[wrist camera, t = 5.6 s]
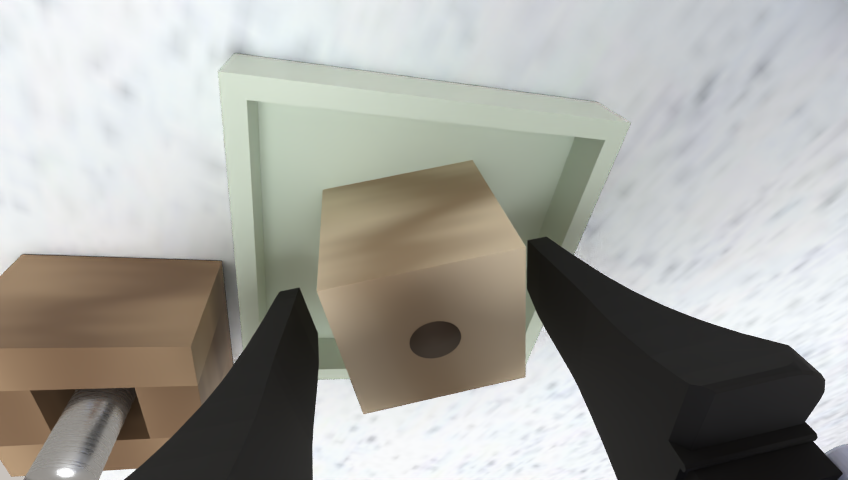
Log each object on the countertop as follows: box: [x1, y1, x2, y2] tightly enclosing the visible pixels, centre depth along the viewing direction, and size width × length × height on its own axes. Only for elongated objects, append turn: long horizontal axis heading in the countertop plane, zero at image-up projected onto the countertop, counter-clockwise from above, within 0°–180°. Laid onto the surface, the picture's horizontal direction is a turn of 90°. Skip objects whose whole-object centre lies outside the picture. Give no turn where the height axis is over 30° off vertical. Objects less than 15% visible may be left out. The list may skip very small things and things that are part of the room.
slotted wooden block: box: [0, 255, 233, 477], centre depth 15 cm, size 6×6×4 cm
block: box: [317, 160, 526, 414], centre depth 14 cm, size 5×5×5 cm
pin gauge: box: [24, 388, 136, 480], centre depth 14 cm, size 2×2×6 cm
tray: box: [218, 53, 631, 380], centre depth 15 cm, size 11×11×2 cm
